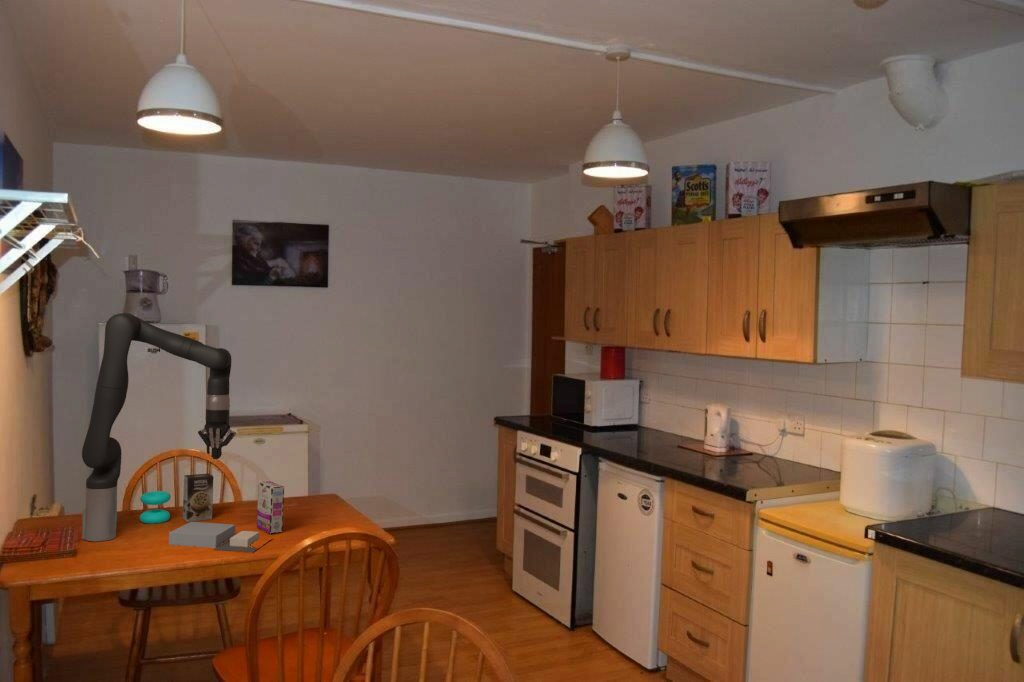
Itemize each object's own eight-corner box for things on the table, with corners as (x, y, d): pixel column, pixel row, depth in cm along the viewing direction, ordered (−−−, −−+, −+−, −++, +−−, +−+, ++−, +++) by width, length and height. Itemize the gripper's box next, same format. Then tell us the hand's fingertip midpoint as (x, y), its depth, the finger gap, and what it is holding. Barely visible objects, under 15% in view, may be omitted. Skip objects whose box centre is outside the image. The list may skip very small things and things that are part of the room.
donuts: (166, 496, 282) (136, 496, 280) (165, 524, 282) (136, 524, 280) (173, 490, 291) (145, 490, 290) (173, 517, 292) (144, 517, 290)
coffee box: (186, 522, 285) (187, 478, 285) (182, 518, 291) (183, 474, 290) (212, 519, 291) (213, 475, 290) (207, 515, 296) (209, 472, 295)
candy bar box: (283, 532, 277) (285, 486, 276) (270, 535, 274) (271, 487, 273) (269, 525, 285) (270, 480, 285) (256, 527, 282) (257, 482, 281)
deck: (168, 544, 258) (169, 532, 258) (190, 533, 272) (190, 521, 272) (215, 548, 256) (215, 535, 256) (235, 536, 270) (235, 524, 270)
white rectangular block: (247, 539, 258) (247, 547, 258) (259, 532, 267) (259, 539, 267) (230, 538, 258) (229, 545, 259) (242, 530, 267) (241, 538, 267)
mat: (214, 550, 254) (214, 549, 254) (236, 536, 270) (236, 535, 270) (252, 552, 253) (253, 551, 253) (273, 539, 269) (273, 538, 269)
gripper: (193, 407, 264) (192, 459, 264) (231, 409, 262) (229, 462, 263) (204, 405, 271) (203, 455, 272) (241, 407, 270) (240, 458, 270)
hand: (216, 458), depth 267 cm, fingers closed
